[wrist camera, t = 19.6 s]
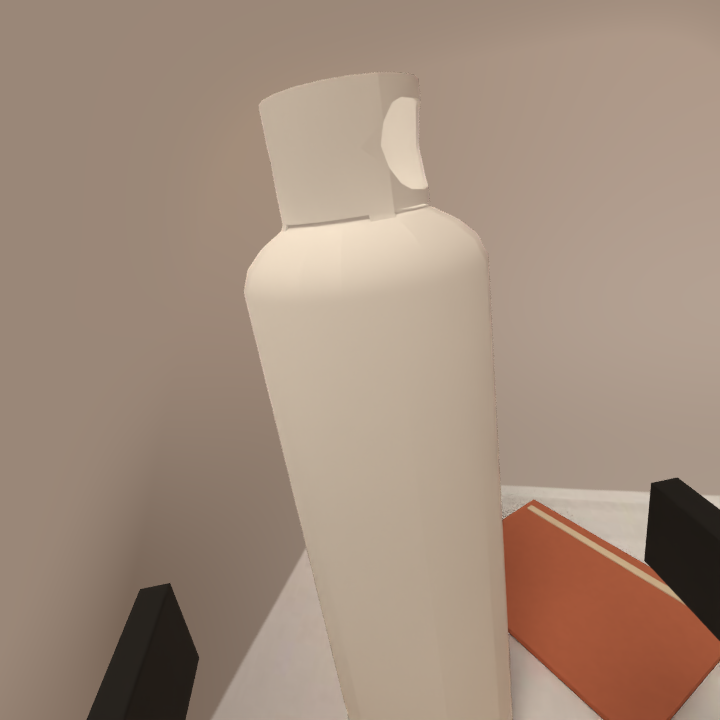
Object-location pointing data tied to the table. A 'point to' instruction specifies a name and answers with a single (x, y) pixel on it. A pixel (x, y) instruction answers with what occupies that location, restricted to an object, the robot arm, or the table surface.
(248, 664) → the table surface
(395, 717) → the bottle
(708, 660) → the notebook
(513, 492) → the table surface
